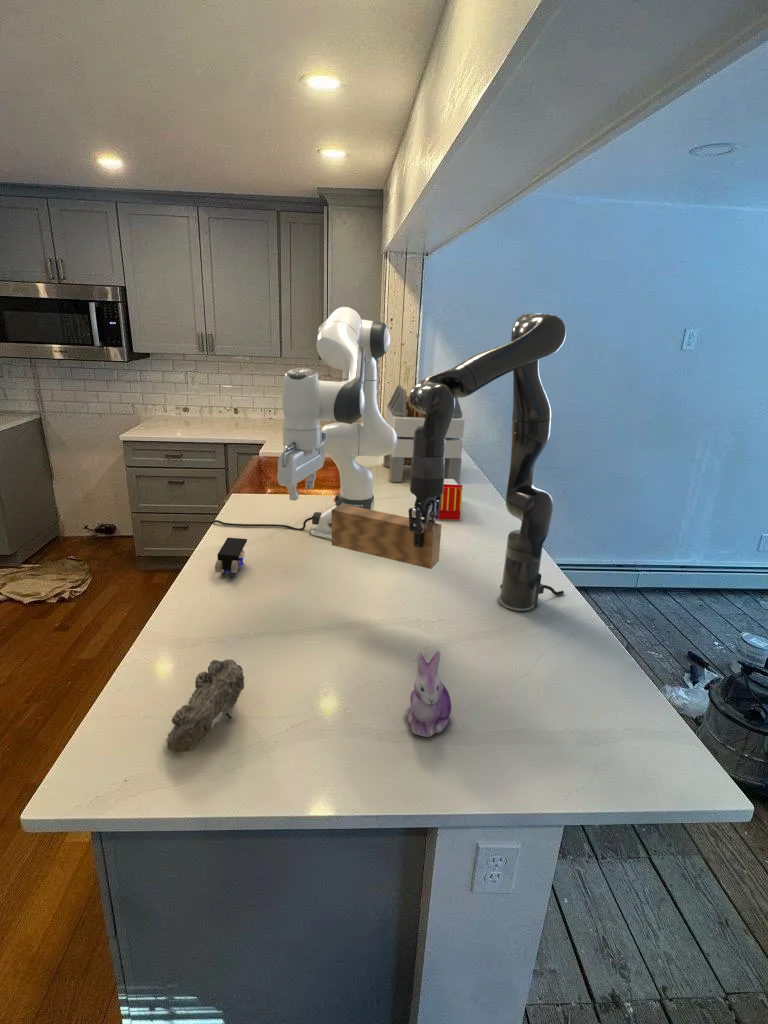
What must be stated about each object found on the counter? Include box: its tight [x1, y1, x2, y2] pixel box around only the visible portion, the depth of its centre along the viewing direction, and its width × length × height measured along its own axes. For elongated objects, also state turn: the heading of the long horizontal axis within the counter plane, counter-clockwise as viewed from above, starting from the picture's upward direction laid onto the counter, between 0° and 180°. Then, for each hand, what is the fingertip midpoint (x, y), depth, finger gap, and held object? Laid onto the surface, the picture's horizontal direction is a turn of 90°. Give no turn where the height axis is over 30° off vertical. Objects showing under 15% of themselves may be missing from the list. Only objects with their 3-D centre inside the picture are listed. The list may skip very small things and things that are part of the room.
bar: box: [331, 504, 442, 570], centre depth 137 cm, size 27×5×10 cm, turn 63°
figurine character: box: [214, 537, 248, 578], centre depth 166 cm, size 7×8×15 cm
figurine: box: [407, 650, 452, 738], centre depth 107 cm, size 9×10×15 cm
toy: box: [437, 478, 463, 521], centre depth 226 cm, size 12×13×30 cm
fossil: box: [166, 658, 245, 754], centre depth 106 cm, size 22×10×15 cm
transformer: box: [383, 384, 465, 484], centre depth 268 cm, size 34×33×41 cm
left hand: (302, 494), depth 140 cm, fingers open, 8 cm apart
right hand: (423, 542), depth 133 cm, fingers closed on bar, 5 cm apart
